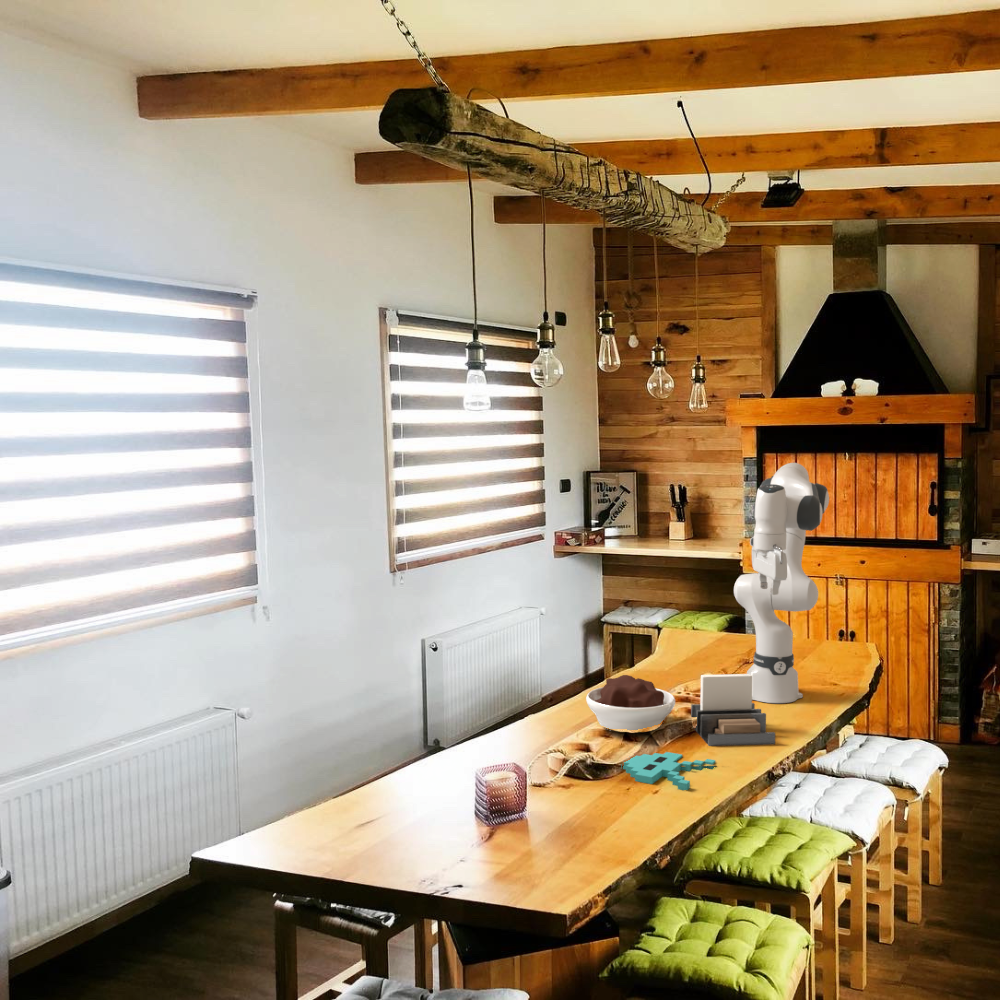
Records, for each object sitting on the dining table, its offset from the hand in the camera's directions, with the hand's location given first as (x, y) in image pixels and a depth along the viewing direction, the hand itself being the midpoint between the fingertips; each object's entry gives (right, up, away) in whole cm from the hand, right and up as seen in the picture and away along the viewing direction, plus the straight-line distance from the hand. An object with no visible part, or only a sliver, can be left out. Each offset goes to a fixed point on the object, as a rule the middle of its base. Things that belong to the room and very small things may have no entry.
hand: (769, 591), depth 311 cm
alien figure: (-35, -43, -34) cm, 65 cm away
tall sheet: (-13, -38, -2) cm, 40 cm away
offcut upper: (-11, -37, -13) cm, 40 cm away
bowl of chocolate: (-39, -39, +1) cm, 55 cm away
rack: (-12, -40, -7) cm, 42 cm away
